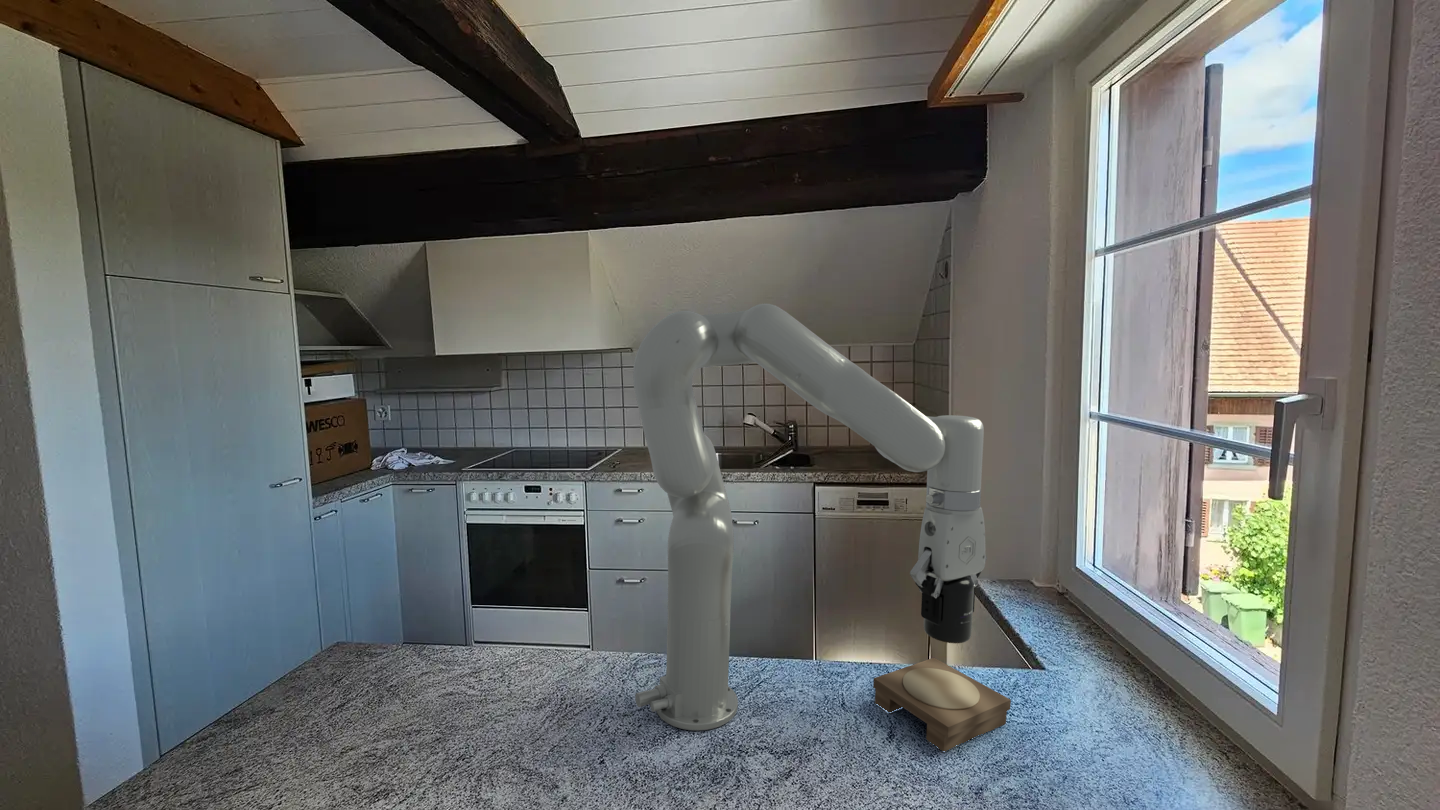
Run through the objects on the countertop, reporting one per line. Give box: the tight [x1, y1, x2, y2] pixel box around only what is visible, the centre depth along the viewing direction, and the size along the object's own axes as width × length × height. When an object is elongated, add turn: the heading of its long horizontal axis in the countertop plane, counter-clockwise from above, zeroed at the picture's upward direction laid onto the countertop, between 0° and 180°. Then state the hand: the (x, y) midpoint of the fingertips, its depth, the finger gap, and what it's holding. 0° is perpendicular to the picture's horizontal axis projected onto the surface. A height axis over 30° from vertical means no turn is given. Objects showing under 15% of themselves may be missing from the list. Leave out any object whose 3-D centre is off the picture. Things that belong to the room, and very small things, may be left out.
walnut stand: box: [872, 657, 1012, 752], centre depth 91 cm, size 14×14×4 cm
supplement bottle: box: [923, 571, 975, 644], centre depth 89 cm, size 7×7×12 cm
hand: (947, 613), depth 90 cm, fingers closed on supplement bottle, 6 cm apart
